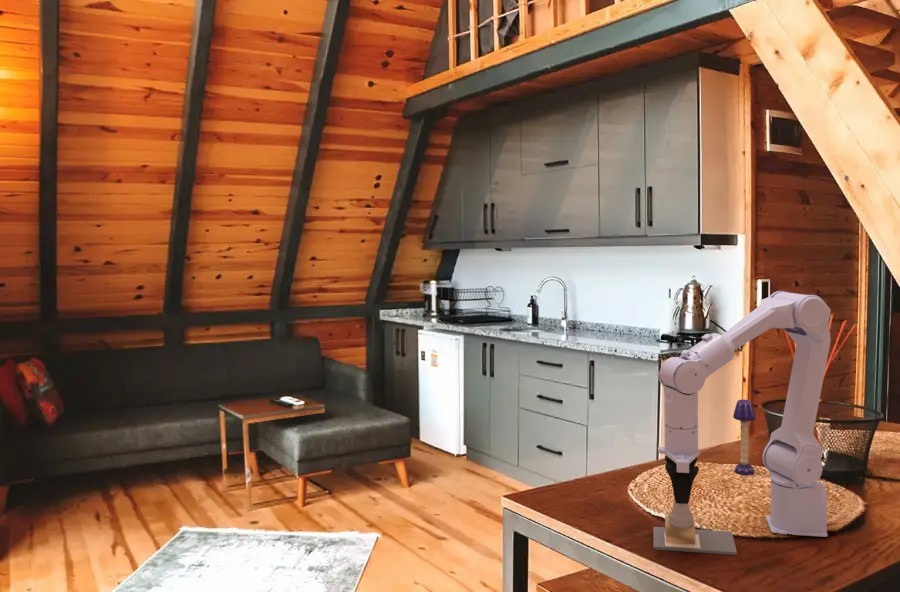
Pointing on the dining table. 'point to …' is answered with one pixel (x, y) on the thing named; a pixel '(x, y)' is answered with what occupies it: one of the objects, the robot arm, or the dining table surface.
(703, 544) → the slate board
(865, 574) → the dining table surface
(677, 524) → the rook chess piece
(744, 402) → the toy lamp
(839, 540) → the dining table surface
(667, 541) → the oak block
